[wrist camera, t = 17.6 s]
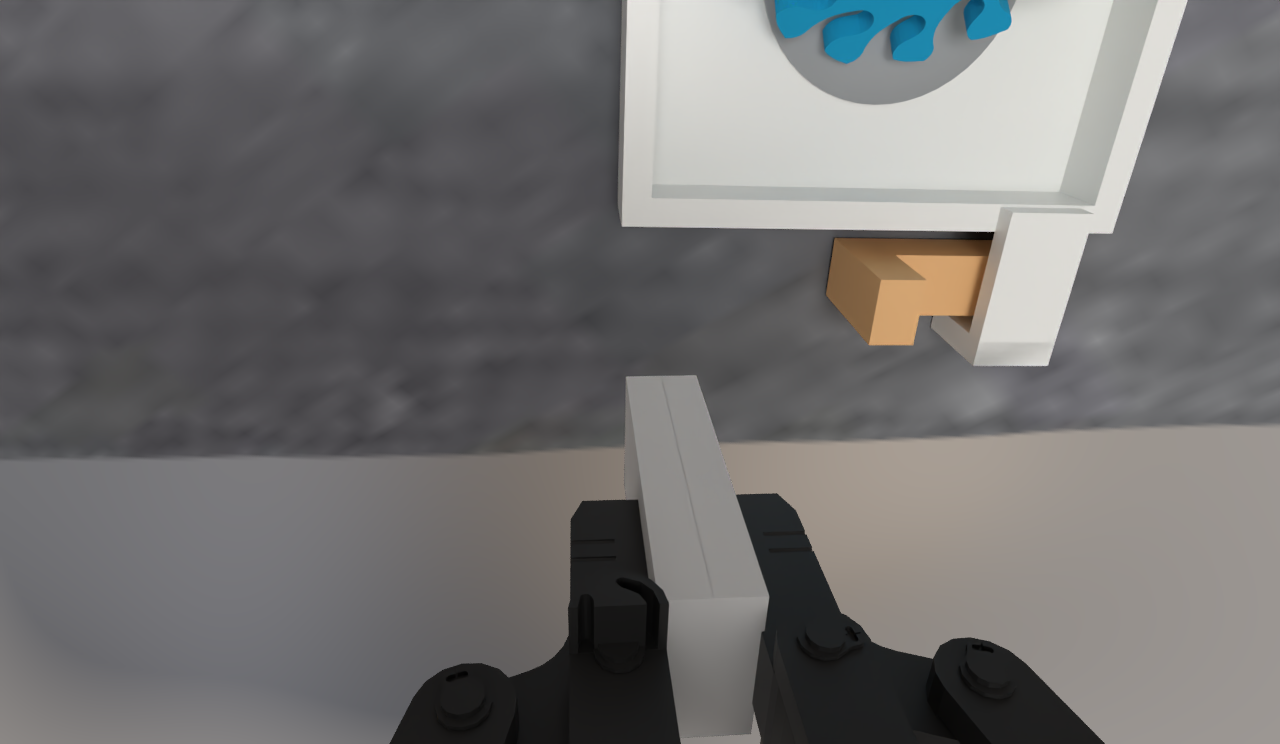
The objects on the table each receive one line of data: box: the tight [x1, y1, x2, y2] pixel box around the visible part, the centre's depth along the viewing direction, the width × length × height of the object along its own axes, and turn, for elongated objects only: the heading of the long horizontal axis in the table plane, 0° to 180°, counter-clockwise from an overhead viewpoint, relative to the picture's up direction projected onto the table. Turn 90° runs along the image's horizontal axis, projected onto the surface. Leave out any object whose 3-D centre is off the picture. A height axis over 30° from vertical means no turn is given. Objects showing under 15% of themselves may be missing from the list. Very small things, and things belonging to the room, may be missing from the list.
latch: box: [826, 238, 993, 345], centre depth 28 cm, size 9×2×5 cm, turn 88°
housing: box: [618, 0, 1188, 366], centre depth 25 cm, size 18×22×4 cm
